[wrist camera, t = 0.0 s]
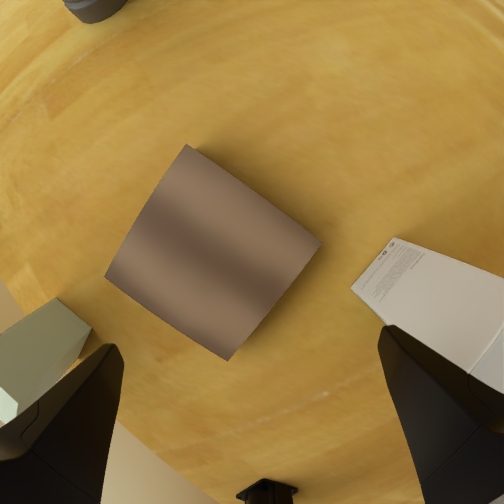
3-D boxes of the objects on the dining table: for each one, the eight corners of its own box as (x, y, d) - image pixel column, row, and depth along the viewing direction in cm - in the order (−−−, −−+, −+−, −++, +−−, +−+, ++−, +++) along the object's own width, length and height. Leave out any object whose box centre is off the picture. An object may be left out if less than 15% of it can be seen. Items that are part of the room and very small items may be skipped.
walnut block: (229, 343, 26) (227, 361, 23) (118, 267, 24) (104, 276, 21) (313, 236, 24) (322, 242, 21) (193, 149, 22) (186, 143, 20)
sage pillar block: (77, 358, 26) (14, 432, 14) (44, 330, 26) (-29, 390, 13) (91, 327, 26) (18, 403, 13) (55, 297, 25) (-29, 355, 12)
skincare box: (347, 285, 25) (447, 391, 10) (395, 230, 24) (531, 278, 9) (398, 336, 26) (487, 435, 11) (440, 287, 25) (551, 355, 10)
